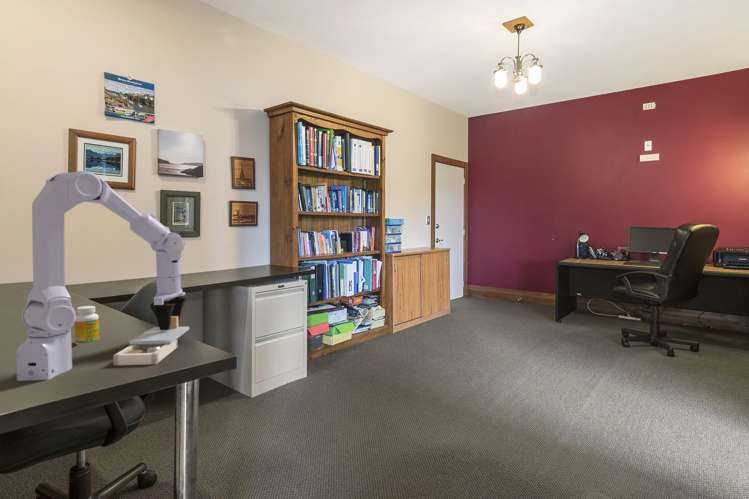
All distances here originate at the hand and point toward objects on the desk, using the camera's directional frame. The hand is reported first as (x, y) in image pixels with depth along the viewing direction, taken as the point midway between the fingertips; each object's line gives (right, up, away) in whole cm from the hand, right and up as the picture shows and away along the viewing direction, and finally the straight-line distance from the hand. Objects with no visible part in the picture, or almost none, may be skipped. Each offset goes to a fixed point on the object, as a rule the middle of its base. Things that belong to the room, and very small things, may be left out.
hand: (169, 326), depth 111 cm
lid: (+1, -2, -6) cm, 6 cm away
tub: (+2, -5, -13) cm, 14 cm away
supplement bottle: (-22, -5, 0) cm, 23 cm away
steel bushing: (+3, -4, -14) cm, 15 cm away
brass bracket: (0, -5, -17) cm, 18 cm away
